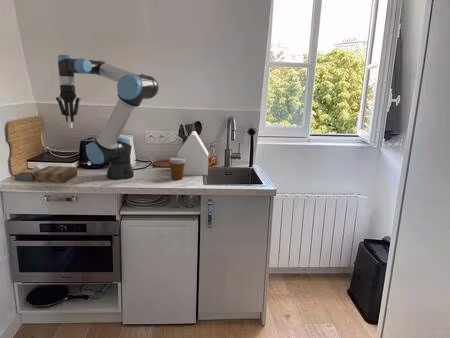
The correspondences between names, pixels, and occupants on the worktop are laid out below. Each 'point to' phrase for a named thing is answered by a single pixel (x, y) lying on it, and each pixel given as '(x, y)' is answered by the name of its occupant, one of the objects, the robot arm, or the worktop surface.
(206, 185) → the worktop surface
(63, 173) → the walnut board
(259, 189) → the worktop surface
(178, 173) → the disposable coffee cup
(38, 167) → the cream tile
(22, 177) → the tray
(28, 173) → the terracotta tile
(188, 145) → the white house model
